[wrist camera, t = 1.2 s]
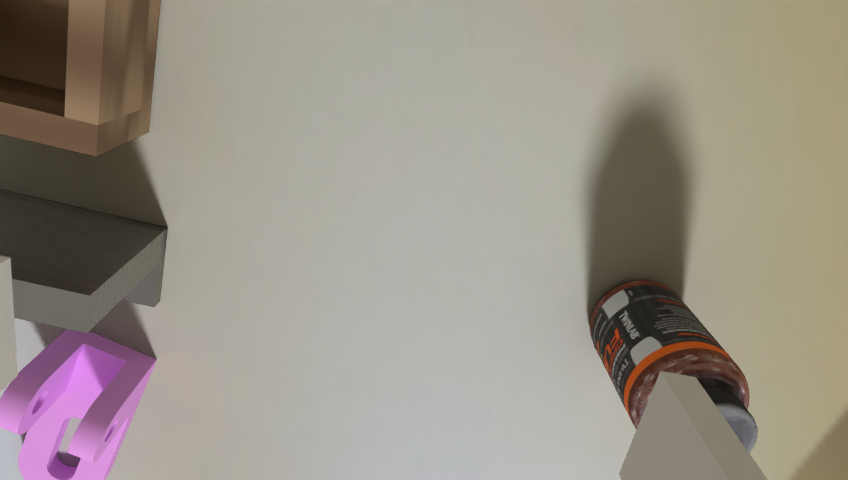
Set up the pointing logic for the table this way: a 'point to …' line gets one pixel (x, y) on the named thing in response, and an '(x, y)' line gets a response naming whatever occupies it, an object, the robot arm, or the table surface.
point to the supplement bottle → (665, 352)
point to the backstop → (77, 261)
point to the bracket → (75, 404)
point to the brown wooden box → (77, 71)
